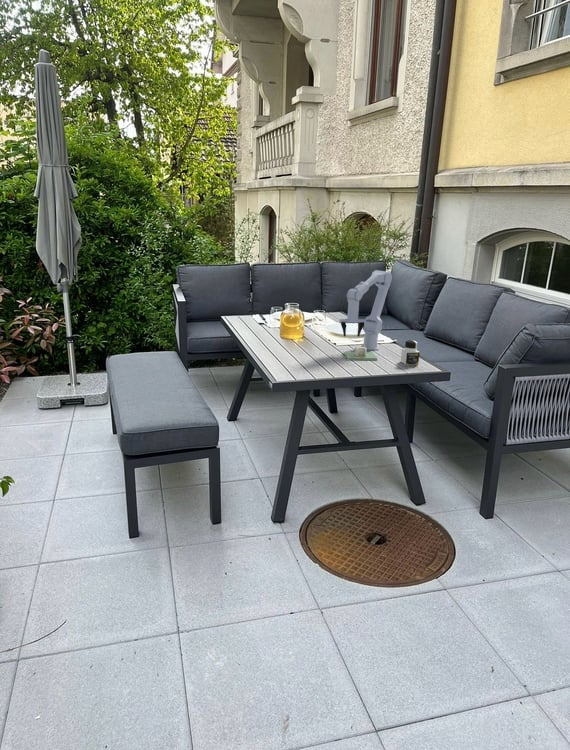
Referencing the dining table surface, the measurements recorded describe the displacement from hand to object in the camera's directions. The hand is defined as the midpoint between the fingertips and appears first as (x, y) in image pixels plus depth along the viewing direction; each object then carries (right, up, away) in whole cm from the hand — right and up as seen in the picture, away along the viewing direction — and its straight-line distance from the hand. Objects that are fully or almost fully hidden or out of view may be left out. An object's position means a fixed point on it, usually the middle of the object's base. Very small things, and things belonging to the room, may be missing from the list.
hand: (351, 336), depth 308 cm
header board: (+4, -12, -3) cm, 13 cm away
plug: (+4, -11, -4) cm, 12 cm away
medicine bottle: (+29, -15, -12) cm, 35 cm away
